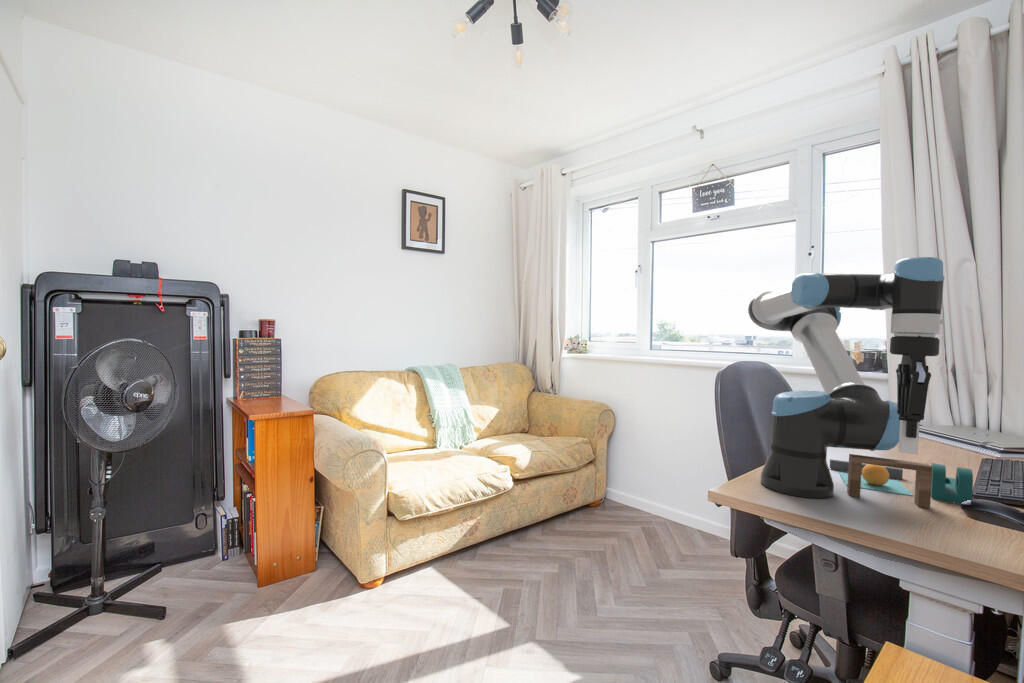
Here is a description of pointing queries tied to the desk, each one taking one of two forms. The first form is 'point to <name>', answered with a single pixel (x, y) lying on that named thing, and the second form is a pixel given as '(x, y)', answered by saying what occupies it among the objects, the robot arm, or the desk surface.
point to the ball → (875, 474)
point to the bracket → (951, 484)
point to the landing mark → (890, 486)
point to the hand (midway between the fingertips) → (907, 452)
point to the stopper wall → (845, 465)
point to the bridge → (922, 469)
